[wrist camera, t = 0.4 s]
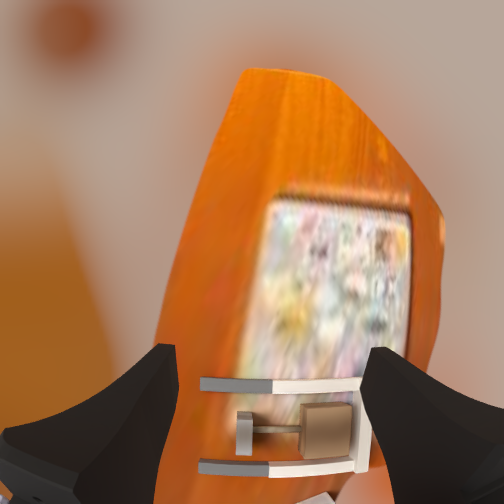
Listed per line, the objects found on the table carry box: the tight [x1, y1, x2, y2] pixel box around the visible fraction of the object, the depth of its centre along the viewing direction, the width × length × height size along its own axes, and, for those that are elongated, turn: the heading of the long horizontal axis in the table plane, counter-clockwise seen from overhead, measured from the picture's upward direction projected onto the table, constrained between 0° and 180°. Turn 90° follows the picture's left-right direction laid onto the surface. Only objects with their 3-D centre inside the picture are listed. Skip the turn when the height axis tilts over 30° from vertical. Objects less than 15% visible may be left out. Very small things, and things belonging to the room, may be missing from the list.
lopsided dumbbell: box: [236, 402, 352, 459], centre depth 30 cm, size 6×12×5 cm, turn 88°
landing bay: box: [199, 377, 273, 476], centre depth 31 cm, size 12×8×2 cm, turn 178°
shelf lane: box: [268, 376, 372, 478], centre depth 31 cm, size 12×12×3 cm
